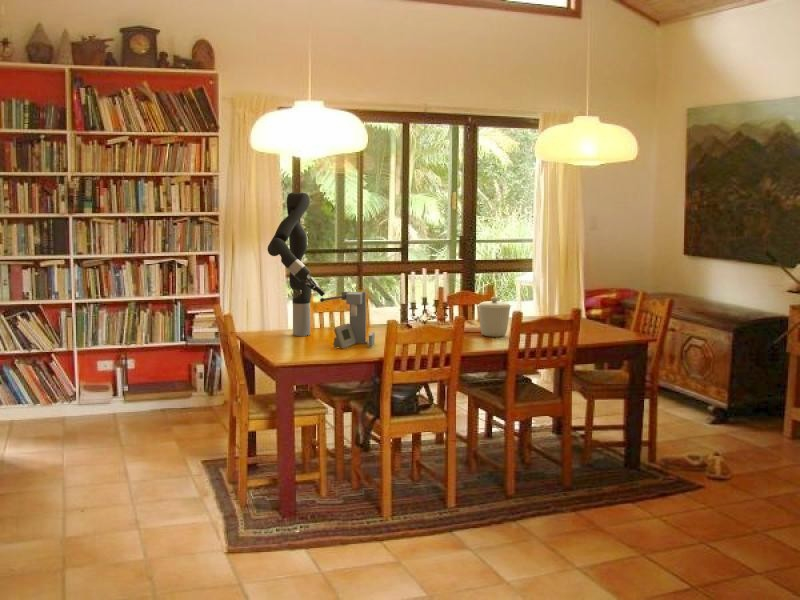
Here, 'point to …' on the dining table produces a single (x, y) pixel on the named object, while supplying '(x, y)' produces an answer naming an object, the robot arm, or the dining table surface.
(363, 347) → the dining table surface
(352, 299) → the press
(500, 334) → the canister
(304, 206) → the robot arm
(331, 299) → the lever
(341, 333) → the digital clock
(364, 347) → the dining table surface
